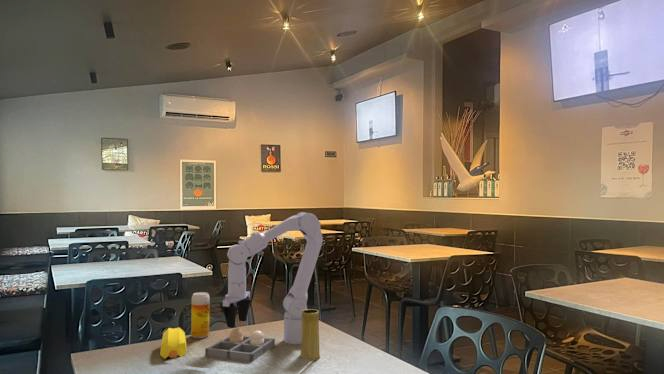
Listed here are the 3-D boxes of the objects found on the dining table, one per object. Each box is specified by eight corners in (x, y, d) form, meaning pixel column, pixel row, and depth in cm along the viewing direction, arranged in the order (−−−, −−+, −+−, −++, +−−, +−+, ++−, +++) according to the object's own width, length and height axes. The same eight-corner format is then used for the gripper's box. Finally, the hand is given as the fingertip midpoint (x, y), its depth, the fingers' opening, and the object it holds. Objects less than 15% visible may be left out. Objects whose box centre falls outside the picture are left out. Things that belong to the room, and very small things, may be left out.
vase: (323, 356, 146) (324, 310, 147) (312, 362, 141) (312, 314, 141) (307, 353, 150) (308, 307, 150) (296, 358, 145) (296, 311, 145)
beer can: (204, 339, 163) (204, 295, 163) (187, 338, 164) (188, 295, 164) (212, 334, 169) (212, 292, 169) (196, 333, 170) (196, 291, 170)
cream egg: (266, 346, 153) (266, 329, 153) (260, 351, 149) (260, 333, 149) (254, 345, 154) (254, 328, 155) (247, 349, 150) (247, 331, 150)
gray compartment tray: (274, 348, 154) (274, 338, 154) (252, 364, 139) (252, 354, 139) (231, 343, 159) (231, 334, 159) (205, 358, 144) (205, 348, 144)
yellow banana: (159, 363, 141) (186, 360, 143) (159, 340, 141) (186, 338, 143) (161, 344, 158) (185, 342, 160) (161, 324, 158) (186, 322, 160)
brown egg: (245, 344, 155) (245, 327, 155) (239, 348, 151) (239, 331, 151) (233, 343, 157) (233, 326, 157) (226, 347, 153) (227, 329, 153)
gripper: (237, 277, 162) (236, 317, 162) (214, 285, 149) (214, 328, 148) (255, 278, 160) (255, 319, 160) (234, 286, 146) (234, 330, 146)
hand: (236, 323), depth 154 cm, fingers open, 7 cm apart
